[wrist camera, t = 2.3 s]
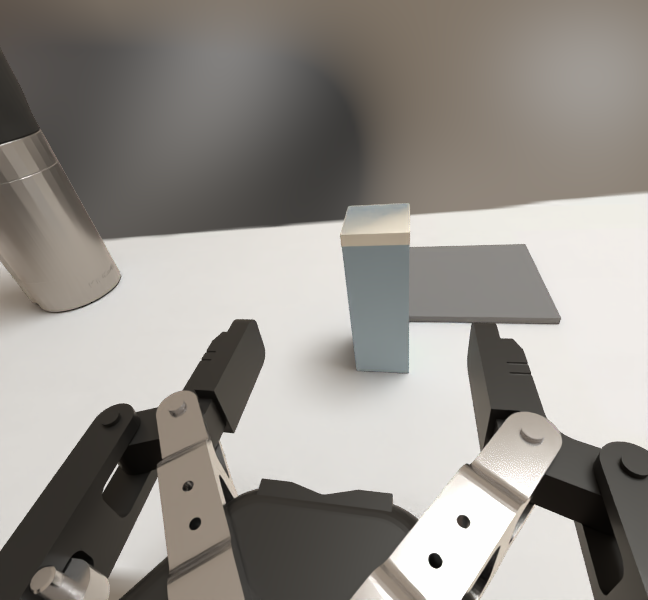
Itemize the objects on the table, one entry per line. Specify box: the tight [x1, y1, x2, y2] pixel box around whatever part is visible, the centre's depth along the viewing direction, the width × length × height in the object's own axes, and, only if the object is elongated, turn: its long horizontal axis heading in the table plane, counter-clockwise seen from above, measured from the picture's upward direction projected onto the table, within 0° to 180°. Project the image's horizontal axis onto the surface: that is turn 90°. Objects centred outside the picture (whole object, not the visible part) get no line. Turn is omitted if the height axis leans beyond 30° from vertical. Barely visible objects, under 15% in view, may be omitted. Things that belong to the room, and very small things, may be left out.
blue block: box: [340, 203, 410, 373], centre depth 27 cm, size 4×4×12 cm
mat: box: [409, 244, 561, 324], centre depth 36 cm, size 14×12×1 cm
